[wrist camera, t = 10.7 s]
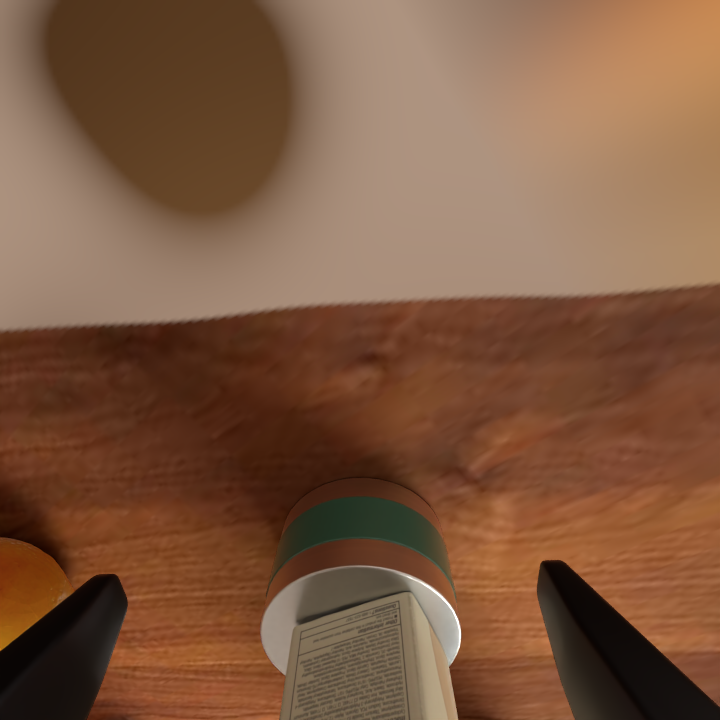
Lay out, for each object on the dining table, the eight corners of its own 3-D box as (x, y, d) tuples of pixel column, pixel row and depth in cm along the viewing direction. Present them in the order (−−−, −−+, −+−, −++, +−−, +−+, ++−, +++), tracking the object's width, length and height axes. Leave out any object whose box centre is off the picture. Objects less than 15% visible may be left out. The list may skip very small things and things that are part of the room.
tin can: (442, 595, 23) (460, 699, 19) (292, 599, 24) (273, 703, 19) (444, 472, 20) (466, 562, 15) (270, 479, 20) (241, 569, 16)
